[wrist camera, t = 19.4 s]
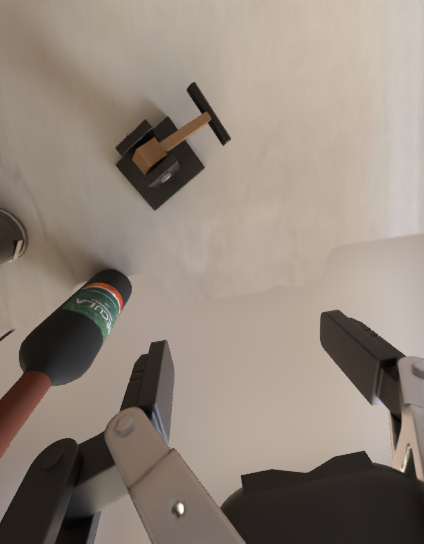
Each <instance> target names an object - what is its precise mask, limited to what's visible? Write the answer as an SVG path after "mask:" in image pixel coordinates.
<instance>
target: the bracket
mask: <svg viewBox="0 0 424 544" xmlns="http://www.w3.org/2000/svg"><path fill="white" fill-rule="evenodd" d="M176 131H178V129H177V128H176V127H175V125H174V124H173V122H172V121H171V120H170V118H169V117H168V116H167V117H166V118H165V119H164V120H163V121H162V122H161V123H160V124H159V125H158V126H157V127H156V128H155V129H153V128H152V127H151V125H150V124H149V123H148V121H147V120H146V119H145V120H144V121H143V122H142V123H141V124H140V125H139V126H138V127H137V128H136V129H132V130H131V131H130V132H129V133H128V134H127V136H126V138H125V139H124V140H123V141H122V142H121V143H120V144H119V145H118V146H117V147H116V150H117V151H118V152H119V153H120V154H121V156H123V158H122V159H121V160H120V161H119V162H118V163H117V164H116V166H117V167H118V169H119V170H120V171H121V172H122V173H123V174H124V176H125V177H126V178H127V179H128V180H129V181H130V183H131V184H132V185H133V186H134V187H135V188H136V190H137V191H138V192H139V193H140V194H141V195H142V197H143V198H144V199H145V200H146V201H147V202H148V203H149V205H150V206H151V207H152V208H153V209H154V210H157V209H158V208H159V207H160V206H161V205H163V204H164V203H165V202H166V201H167V200H168V199H170V198H171V197H172V196H173V195H174V194H175V193H177V192H178V191H179V190H180V189H181V188H182V187H184V186H185V185H186V184H187V183H188V182H189V181H191V180H192V179H193V178H194V177H195V176H196V175H198V174H199V173H200V172H201V171H202V170H203V169H204V168H205V167H204V166H203V164H202V163H201V162H200V160H199V159H198V157H197V156H196V155H195V153H194V152H193V150H192V149H191V148H190V146H189V145H188V143H187V142H186V141H185V140H184V141H182V142H181V143H179V144H178V145H177V146H175V147H174V148H172V149H171V150H170V151H168V152H167V156H166V158H165V159H164V161H162V162H161V163H160V164H159V165H158V166H157V167H156V168H155V169H154V170H152V171H151V172H149V173H148V174H147V175H144V173H143V172H142V171H141V170H140V169H139V167H138V166H137V165H136V164H135V163H134V161H133V160H132V158H133V156H134V153H135V151H136V149H137V148H139V147H140V146H142V145H143V144H145V143H146V142H148V141H149V140H151V139H153V138H155V139H156V140H157V141H158V143H160V142H161V141H163V140H164V139H166V138H167V137H169V136H170V135H172V134H173V133H175V132H176Z"/></svg>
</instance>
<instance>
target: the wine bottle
mask: <svg viewBox="0 0 424 544" xmlns="http://www.w3.org/2000/svg"><path fill="white" fill-rule="evenodd" d="M131 291H132V286H131V283H130V281H129V279H128V278H127V277H126V276H125V275H124V274H122V273H121V272H119V271H116V270H110V269H108V270H103V271H101V272H99V273H97V274H96V275H95V276H94V277H92V278H91V279H90V280H89V281H88V282H87V283H86V284H85V285H84V286H82V287H81V288H80V289H79V290H78V291H77V292H76V293H75V294H73V295H72V296H71V297H70V298H69V299H68V300H67V301H66V302H64V303H63V304H62V305H61V306H60V307H59V308H58V309H57V310H55V311H54V312H53V313H52V314H51V315H50V316H49V317H48V318H46V319H45V320H44V321H43V322H42V323H41V324H40V325H39V326H37V327H36V328H35V329H34V330H33V331H32V332H31V333H30V334H29V335H28V336H27V337H26V339H25V340H24V341H23V342H22V344H21V347H20V350H19V362H20V367H21V369H22V370H23V372H24V373H23V375H22V376H21V378H20V379H19V380H18V381H17V382H16V383H15V384H14V385H13V386H12V388H11V389H10V390H9V391H8V392H7V393H6V394H5V395H4V396H3V397H2V398H1V400H0V458H1V457H2V456H3V454H4V453H5V451H6V450H7V448H8V447H9V445H10V442H11V441H12V440H13V438H14V437H15V436H16V434H17V433H18V431H19V430H20V429H21V427H22V426H23V424H24V423H25V422H26V420H27V419H28V417H29V416H30V414H31V413H32V412H33V410H34V408H36V406H37V405H38V403H39V402H40V400H41V399H42V398H43V396H44V395H45V394H46V392H47V391H48V389H49V388H50V387H51V386H59V385H64V384H67V383H69V382H72V381H74V380H76V379H78V378H80V377H81V376H82V375H83V374H84V373H85V372H86V371H87V370H88V369H89V368H90V366H91V364H92V363H93V361H94V359H95V357H96V355H97V354H98V352H99V350H100V348H101V347H102V345H103V343H104V341H105V340H106V338H107V336H108V334H109V333H110V330H111V329H112V327H113V325H114V324H115V322H116V320H117V318H118V316H119V315H120V313H121V311H122V309H123V308H124V306H125V304H126V302H127V301H128V299H129V297H130V295H131Z"/></svg>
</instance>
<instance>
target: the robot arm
mask: <svg viewBox="0 0 424 544" xmlns="http://www.w3.org/2000/svg"><path fill="white" fill-rule="evenodd" d="M27 244H28V238H27V234H26V231H25V229H24V227H23V225H22V224H21V223H20V221H19V220H18V219H17V218H16V217H15V216H13V215H12V214H11V213H9V212H8V211H6V210H3V209H1V208H0V264H3V263H6V262H9V261H12V260H15V259H17V258H19V257H20V256H22V255H23V253H24V252H25V250H26V248H27ZM320 322H321V323H320V341H321V344H322V347H323V348H324V350H325V351H326V352H327V353H328V354H329V356H330V357H331V358H332V359H333V360H334V362H335V363H336V364H337V365H338V366H339V368H340V369H341V370H342V371H343V372H344V373H345V374H346V376H347V377H348V378H349V379H350V380H351V382H352V383H353V384H354V385H355V386H356V388H357V389H358V390H359V391H360V392H361V394H362V395H363V396H364V397H365V398H366V399H367V401H368V402H369V403H370V404H371V405H378V404H384V405H385V406H386V407H387V408H388V409H389V411H388V419H389V430H390V440H391V451H392V467H389V466H386V465H382V464H378V463H372V461H371V460H370V458H369V457H368V455H367V454H366V452H365V451H361V452H356V453H351V454H346V455H341V456H336V457H333V458H332V459H330V460H328V461H327V462H325V463H323V464H322V465H320V466H319V467H317V468H315V469H314V470H312V471H310V472H308V473H301V472H291V471H283V470H273V469H271V470H266V471H260V472H255V473H251V474H246V475H241V480H242V488H240V489H238V490H237V491H235V492H234V493H233V494H232V495H230V496H229V497H228V499H227V500H226V501H225V502H224V503H223V504H222V506H221V507H220V508H219V507H218V505H217V504H216V502H215V501H214V500H213V498H212V497H211V496H210V494H209V493H208V492H207V490H206V489H205V488H204V486H203V485H202V484H201V482H200V481H199V479H198V478H197V477H196V475H195V474H194V473H193V471H192V470H191V469H190V467H189V466H188V465H187V464H186V462H185V461H184V460H183V458H182V457H181V455H180V454H179V453H178V452H177V450H175V449H174V448H172V449H170V448H169V446H168V445H169V435H170V423H171V411H172V399H173V387H174V365H173V361H172V357H171V353H170V349H169V345H168V342H167V340H163V341H157V342H152V343H151V345H150V349H149V353H148V354H144V355H141V356H140V357H139V359H138V360H137V361H136V363H135V364H134V368H133V371H132V374H131V377H130V382H129V383H128V386H127V390H126V393H125V396H124V400H123V402H122V405H121V408H120V411H119V413H118V414H116V415H115V416H114V417H113V418H112V419H111V420H110V422H109V423H108V425H107V427H106V429H105V431H104V432H102V433H100V434H99V435H97V436H95V437H93V438H91V439H89V440H87V441H85V442H83V443H81V444H77V443H76V441H75V440H73V439H71V438H65V439H61V440H59V441H56V442H54V443H52V444H51V445H49V446H48V447H47V448H45V449H44V450H43V451H42V452H41V453H40V454H39V455H38V456H37V457H36V459H35V460H34V461H33V463H32V464H31V466H30V468H29V470H28V471H27V473H26V475H25V477H24V479H23V481H22V483H21V485H20V487H19V488H18V490H17V492H16V494H15V496H14V498H13V500H12V502H11V503H10V505H9V507H8V509H7V511H6V513H5V515H4V517H3V519H2V520H1V523H0V544H94V540H95V536H96V532H97V527H98V523H99V519H100V515H101V510H102V509H104V508H105V507H107V506H109V505H110V504H112V503H114V502H115V501H117V500H119V499H120V498H122V497H124V496H125V495H127V494H130V497H131V499H132V501H133V503H134V506H135V508H136V510H137V512H138V515H139V517H140V519H141V521H142V523H143V526H144V528H145V530H146V532H147V534H148V537H149V539H150V541H151V543H152V544H424V359H422V358H419V357H406V356H405V355H404V354H402V353H401V352H400V351H398V350H397V349H396V348H395V347H393V346H392V345H391V344H389V343H388V342H387V341H385V340H384V339H383V338H382V337H380V336H378V334H376V333H375V332H374V331H371V329H370V328H368V327H367V326H366V325H365V324H363V323H362V322H360V321H357V320H355V319H353V318H348V317H347V316H345V315H344V314H343V313H342V312H341V311H339V310H333V311H328V312H323V313H322V314H321V321H320ZM14 330H16V329H13V330H10V331H8V332H7V333H6V334H5V335H3V336H2V337H1V338H0V341H2V340H3V339H4V338H5V337H7V336H8V335H9V334H11V333H12V332H13V331H14Z"/></svg>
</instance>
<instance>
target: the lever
mask: <svg viewBox="0 0 424 544" xmlns="http://www.w3.org/2000/svg"><path fill="white" fill-rule="evenodd" d="M187 92H188V94H189V95H190V97H191V98H192V100H193V101H194V103H195V104H196V106H197V107H198V109H199V110H200V112H201V113H202V115H200V116H199V117H197V118H196V119H194V120H193V121H191V122H190V123H188V124H187V125H185V126H184V127H182V128H181V129H179V130H178V131H176V132H175V133H173V134H172V135H170V136H169V137H167V138H166V139H164V140H163V141H161V142H160V143H158V141H157V140H156V139H155V138H153V139H151V140H149V141H148V142H146V143H145V144H143V145H142V146H140V147H139V148H137V149H136V151H135V153H134V156H133V158H132V160H133V161H134V163H135V164H136V165H137V166H138V167H139V169H140V170H141V171H142V172H143V173H144V175H147V174H148V173H149V172H151V171H152V170H154V169H155V168H156V167H157V166H158V165H159V164H160V163H161V162H162V161H164V159H165V158H166V156H167V152H168V151H170V150H171V149H172V148H174V147H175V146H177V145H178V144H179V143H181V142H182V141H184V140H185V139H187V138H188V137H189V136H191V135H192V134H194V133H195V132H196V131H198V130H199V129H201V128H202V127H204V126H205V125H206V124H209V126H210V127H211V129H212V130H213V132H214V133H215V135H216V136H217V138H218V139H219V141H220V142H221V144H222V145H223V146H224V145H225V144H226V143H228V142H229V141H230V140H231V138H230V136H229V134H228V133H227V131H226V130H225V128H224V127H223V125H222V123H221V122H220V120H219V119H218V117H217V116H216V114H215V113H214V111H213V109H212V108H211V106H210V105H209V103H208V102H207V100H206V99H205V97H204V95H203V94H202V92H201V91H200V89H199V88H198V86H197V84H196V83H195V82H193V83H192V84H190V86H189V87H188V88H187Z"/></svg>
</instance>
